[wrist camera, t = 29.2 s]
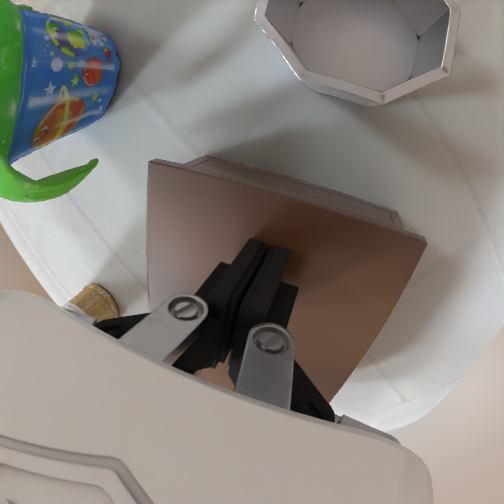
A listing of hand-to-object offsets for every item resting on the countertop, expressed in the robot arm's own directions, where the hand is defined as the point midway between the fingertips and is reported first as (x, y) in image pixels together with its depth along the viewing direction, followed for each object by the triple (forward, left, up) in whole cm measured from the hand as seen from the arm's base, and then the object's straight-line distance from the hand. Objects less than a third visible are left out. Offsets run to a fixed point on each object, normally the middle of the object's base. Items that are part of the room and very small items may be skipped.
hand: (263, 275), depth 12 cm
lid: (+4, 0, -1) cm, 5 cm away
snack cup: (-7, -16, -6) cm, 18 cm away
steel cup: (-11, +1, -6) cm, 12 cm away
